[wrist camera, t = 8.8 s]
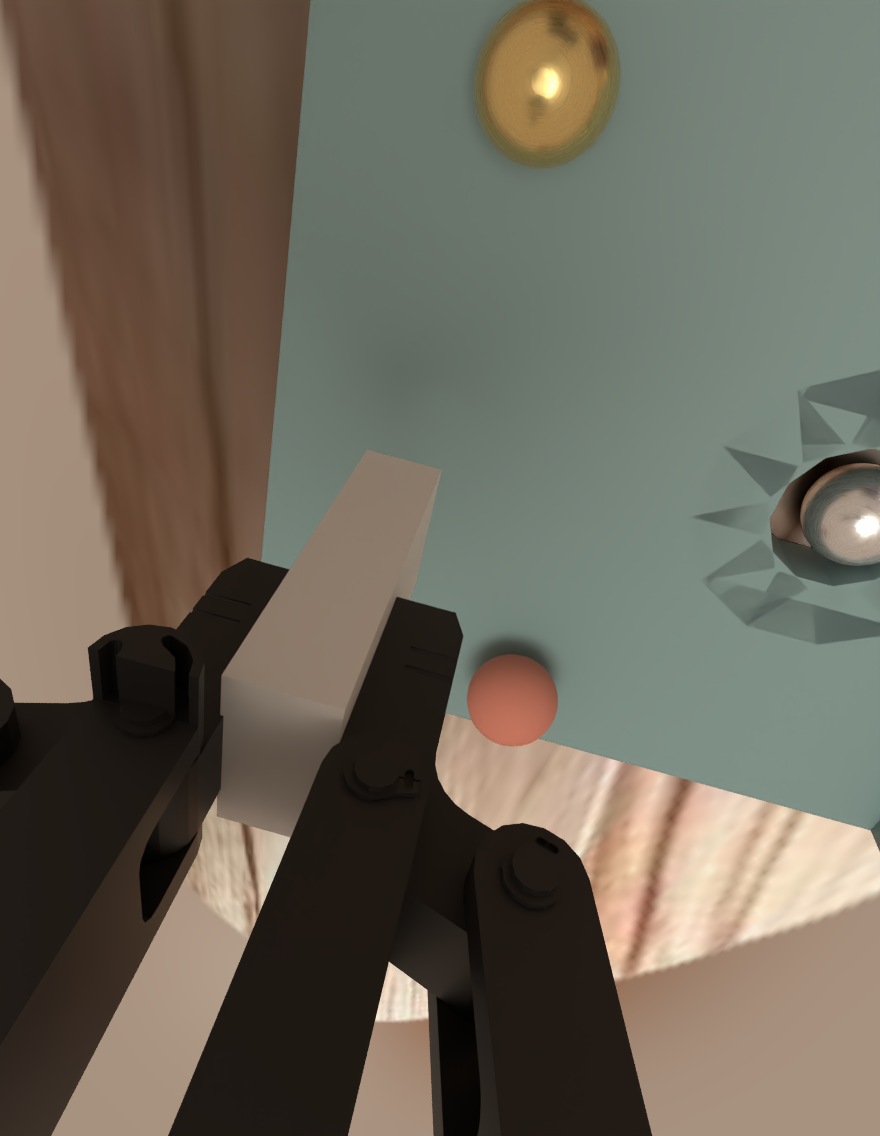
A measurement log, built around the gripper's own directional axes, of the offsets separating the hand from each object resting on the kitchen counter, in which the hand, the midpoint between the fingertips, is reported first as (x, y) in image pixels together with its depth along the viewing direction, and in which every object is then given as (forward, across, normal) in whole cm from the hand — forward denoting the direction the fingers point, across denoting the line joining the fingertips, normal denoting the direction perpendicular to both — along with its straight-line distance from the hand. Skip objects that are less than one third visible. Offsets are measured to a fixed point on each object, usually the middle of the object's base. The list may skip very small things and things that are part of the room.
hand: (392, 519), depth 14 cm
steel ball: (+9, +13, -1) cm, 16 cm away
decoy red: (+6, +4, -10) cm, 13 cm away
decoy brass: (+7, +1, +8) cm, 10 cm away
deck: (+11, +8, -1) cm, 13 cm away
